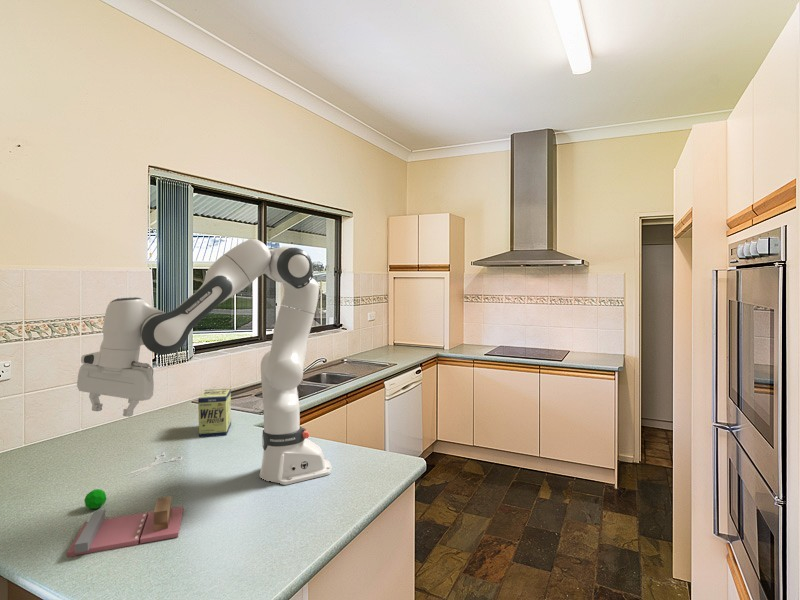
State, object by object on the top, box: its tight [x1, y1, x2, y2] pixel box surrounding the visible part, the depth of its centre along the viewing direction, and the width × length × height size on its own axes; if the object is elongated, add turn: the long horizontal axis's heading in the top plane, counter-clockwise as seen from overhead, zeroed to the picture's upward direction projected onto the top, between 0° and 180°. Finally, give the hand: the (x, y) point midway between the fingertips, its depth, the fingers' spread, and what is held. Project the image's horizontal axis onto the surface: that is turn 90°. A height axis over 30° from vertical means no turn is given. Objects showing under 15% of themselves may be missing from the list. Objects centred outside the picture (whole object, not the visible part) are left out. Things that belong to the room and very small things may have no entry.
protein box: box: [197, 388, 232, 438], centre depth 190 cm, size 10×16×16 cm
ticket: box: [66, 509, 149, 558], centre depth 113 cm, size 14×16×3 cm
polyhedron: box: [84, 488, 107, 510], centre depth 126 cm, size 5×5×5 cm
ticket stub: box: [139, 495, 184, 544], centre depth 116 cm, size 8×14×6 cm, turn 20°
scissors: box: [122, 452, 183, 478], centre depth 155 cm, size 11×1×20 cm
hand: (112, 413), depth 119 cm, fingers open, 8 cm apart
